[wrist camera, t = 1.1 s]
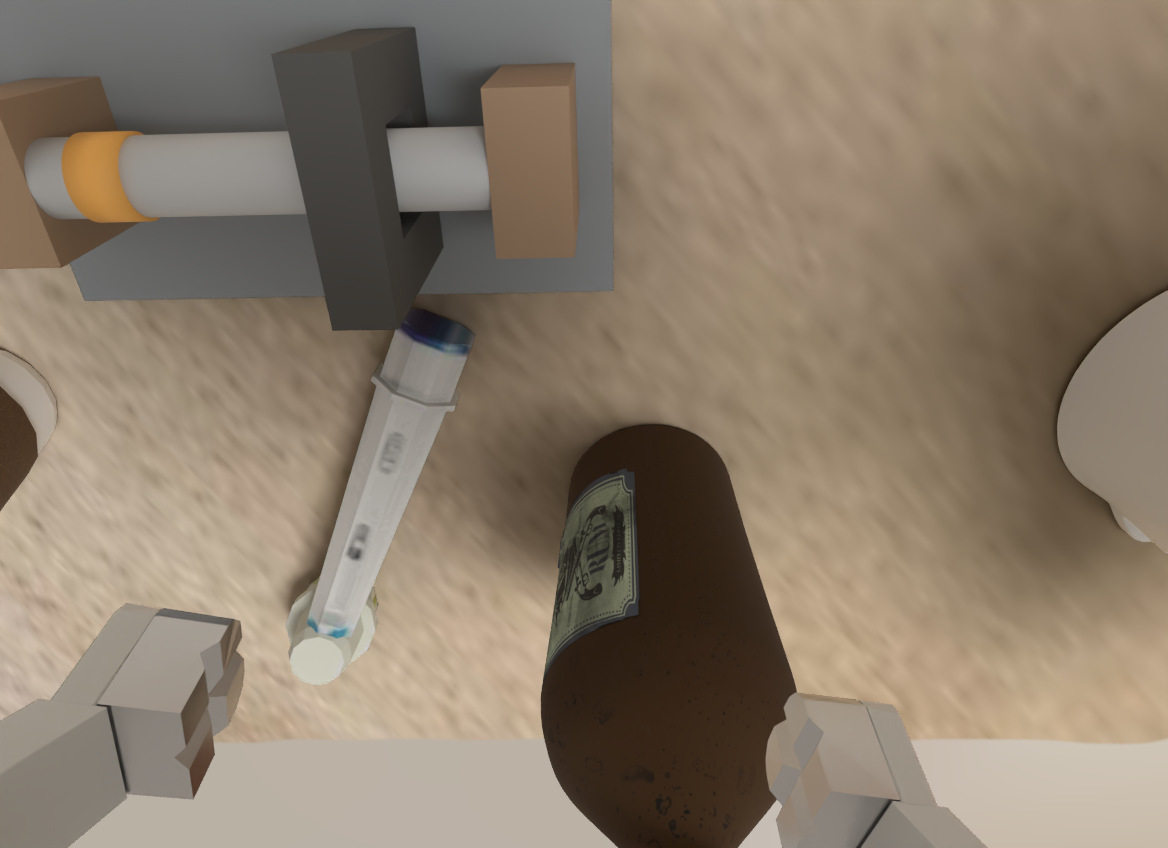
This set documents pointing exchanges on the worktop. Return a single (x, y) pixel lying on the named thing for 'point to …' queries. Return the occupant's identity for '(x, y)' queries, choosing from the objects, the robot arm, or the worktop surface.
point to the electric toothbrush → (378, 493)
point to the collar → (359, 170)
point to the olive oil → (661, 648)
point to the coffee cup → (22, 421)
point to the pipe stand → (264, 153)
